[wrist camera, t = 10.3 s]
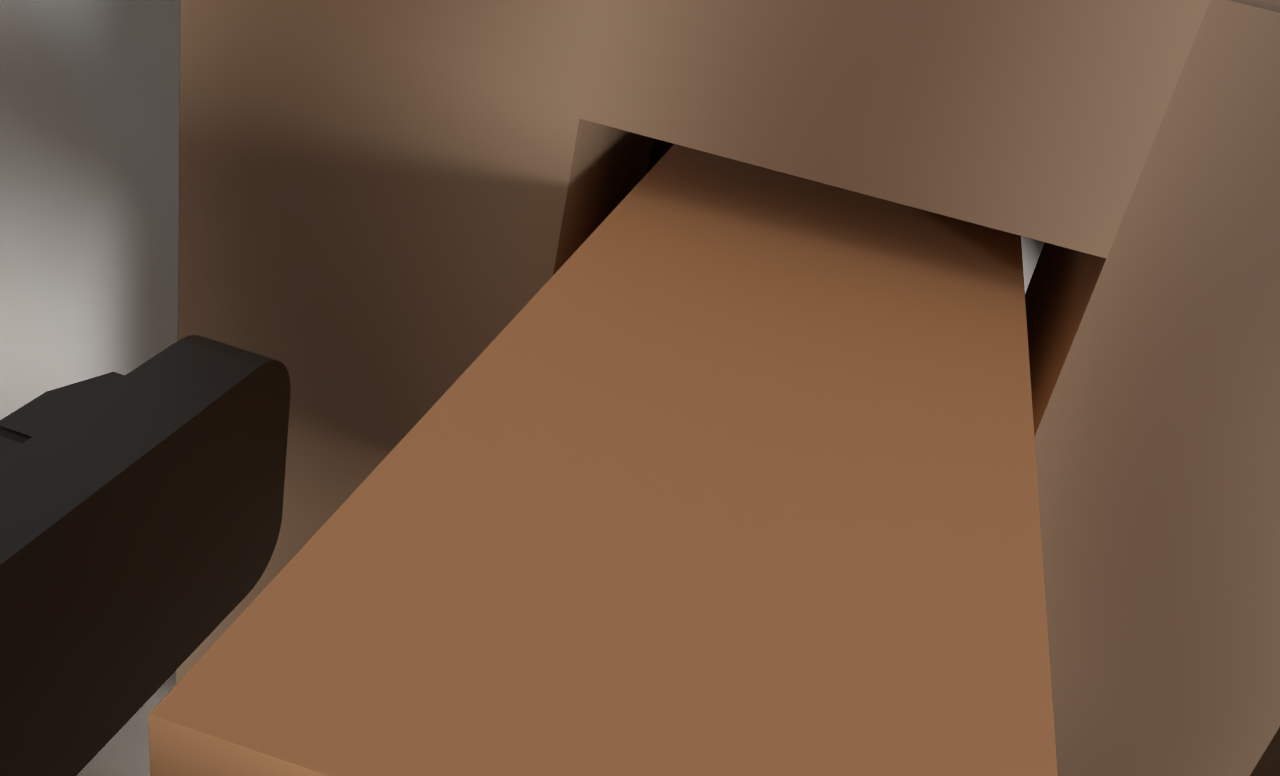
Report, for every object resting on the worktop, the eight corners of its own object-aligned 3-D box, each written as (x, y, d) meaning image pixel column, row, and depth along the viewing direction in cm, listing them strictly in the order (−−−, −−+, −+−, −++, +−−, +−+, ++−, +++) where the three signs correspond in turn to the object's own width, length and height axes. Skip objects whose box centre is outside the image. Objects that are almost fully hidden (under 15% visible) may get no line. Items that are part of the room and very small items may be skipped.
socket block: (1568, 41, 13) (1778, 129, 10) (1052, 981, 21) (1064, 1221, 17) (370, -234, 15) (182, -243, 11) (300, 717, 23) (174, 885, 19)
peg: (1017, 181, 15) (1075, 1027, 5) (926, 450, 17) (825, 1487, 7) (708, 106, 16) (148, 715, 5) (655, 375, 18) (162, 1217, 7)
